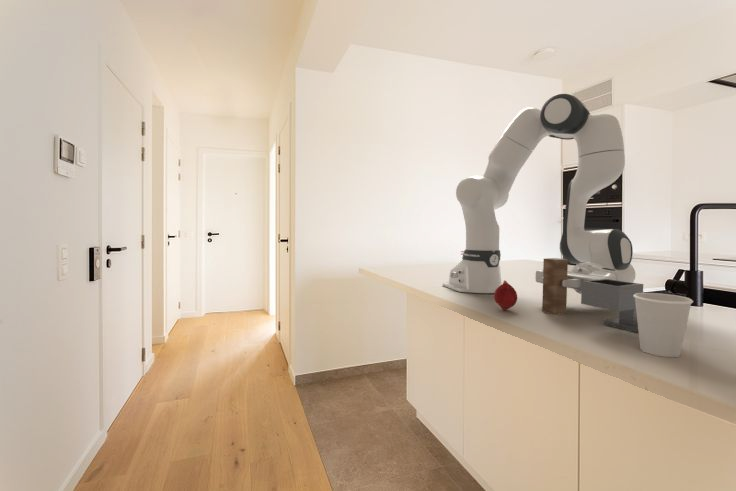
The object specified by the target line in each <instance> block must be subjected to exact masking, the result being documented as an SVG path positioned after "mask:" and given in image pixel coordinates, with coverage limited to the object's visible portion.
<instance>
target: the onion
mask: <svg viewBox="0 0 736 491" xmlns="http://www.w3.org/2000/svg"><path fill="white" fill-rule="evenodd" d="M493 299H494V302H495V303H496V304H497V305H498V306H499V307H500V308H501V310H503V311H507V310H509V309H510V308H512V307H514V306H515V305H516V303H517V301H518V293H517V291H516V290H515V288H514V287H513V286H512V285H511V284H509V283H508V282H507V280H505V279H504V280H503V282H502V285H500V286H499V287H498V288H497V289H496V291H495V293H493Z"/></svg>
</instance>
